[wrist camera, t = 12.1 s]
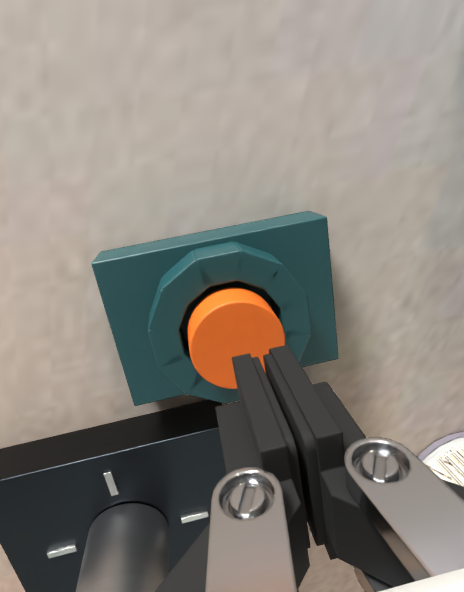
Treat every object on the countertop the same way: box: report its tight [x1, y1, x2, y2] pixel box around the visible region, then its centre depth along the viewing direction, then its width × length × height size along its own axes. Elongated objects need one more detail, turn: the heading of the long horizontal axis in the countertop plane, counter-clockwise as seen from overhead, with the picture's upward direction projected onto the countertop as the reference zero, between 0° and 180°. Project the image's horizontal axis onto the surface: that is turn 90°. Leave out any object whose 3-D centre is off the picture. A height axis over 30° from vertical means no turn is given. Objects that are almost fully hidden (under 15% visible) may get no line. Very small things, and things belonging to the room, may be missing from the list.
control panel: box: [0, 400, 227, 592], centre depth 21 cm, size 12×10×3 cm
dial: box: [76, 503, 169, 592], centre depth 17 cm, size 4×4×5 cm
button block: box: [92, 211, 338, 406], centre depth 17 cm, size 10×7×4 cm
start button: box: [187, 287, 285, 389], centre depth 15 cm, size 4×4×2 cm
